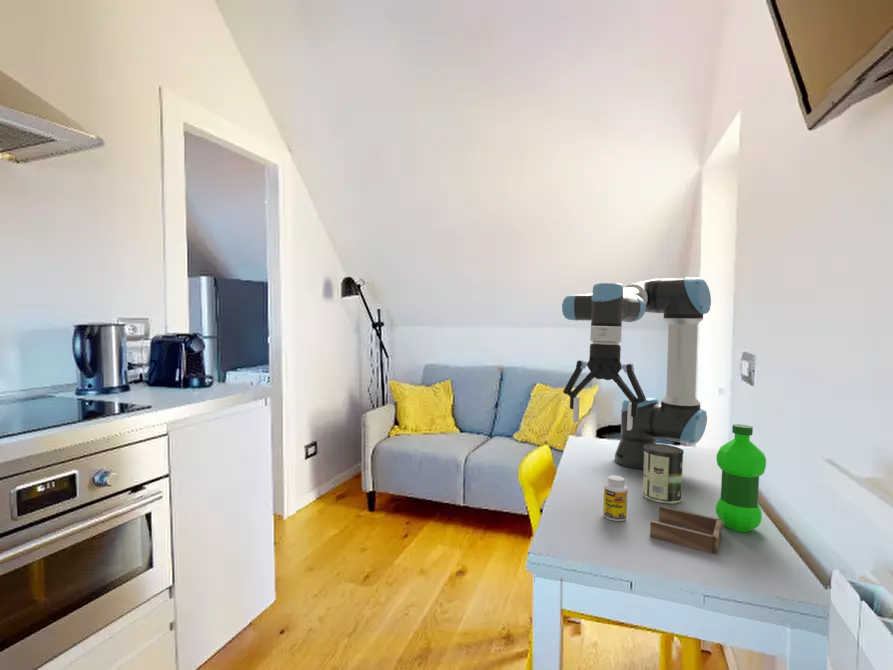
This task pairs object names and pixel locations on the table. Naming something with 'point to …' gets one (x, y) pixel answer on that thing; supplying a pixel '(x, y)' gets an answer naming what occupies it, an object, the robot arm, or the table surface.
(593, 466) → the table surface
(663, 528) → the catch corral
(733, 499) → the plastic bottle
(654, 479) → the coffee can
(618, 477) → the supplement bottle
